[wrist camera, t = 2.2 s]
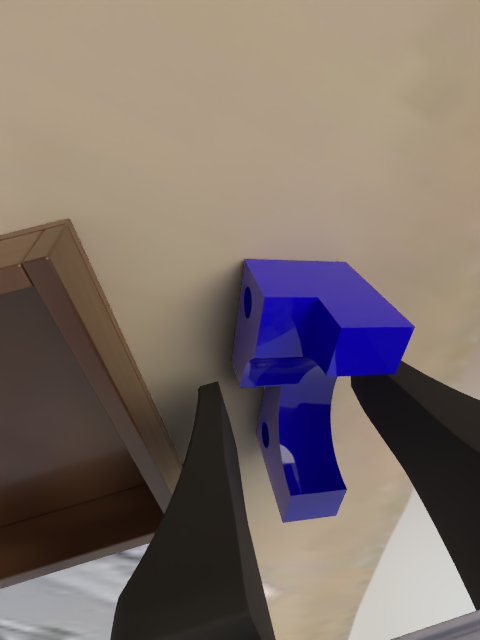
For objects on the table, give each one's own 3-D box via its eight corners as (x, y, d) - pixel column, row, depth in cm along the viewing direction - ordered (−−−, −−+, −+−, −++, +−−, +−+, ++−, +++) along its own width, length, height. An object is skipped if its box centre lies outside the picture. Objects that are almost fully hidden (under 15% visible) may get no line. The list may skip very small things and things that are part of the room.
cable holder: (244, 259, 12) (281, 328, 9) (346, 262, 13) (414, 326, 9) (221, 435, 16) (240, 528, 13) (299, 429, 17) (335, 515, 14)
